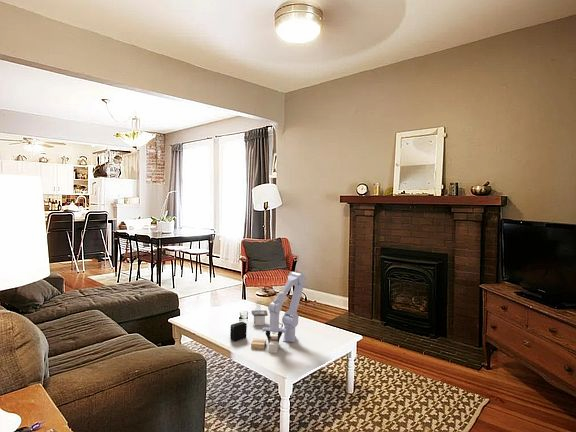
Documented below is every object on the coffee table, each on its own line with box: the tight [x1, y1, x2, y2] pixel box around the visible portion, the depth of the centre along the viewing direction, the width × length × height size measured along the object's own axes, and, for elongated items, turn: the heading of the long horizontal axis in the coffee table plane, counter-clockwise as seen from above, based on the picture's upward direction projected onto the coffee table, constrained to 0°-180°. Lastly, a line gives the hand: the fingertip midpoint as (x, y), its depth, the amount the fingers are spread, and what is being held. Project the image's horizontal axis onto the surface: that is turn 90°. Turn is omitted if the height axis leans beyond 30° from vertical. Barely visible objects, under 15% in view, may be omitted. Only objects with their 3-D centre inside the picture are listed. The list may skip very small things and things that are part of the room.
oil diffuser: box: [251, 301, 269, 326], centre depth 266 cm, size 26×24×17 cm
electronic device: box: [229, 321, 248, 342], centre depth 236 cm, size 4×10×10 cm, turn 135°
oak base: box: [250, 338, 267, 350], centre depth 226 cm, size 8×8×3 cm
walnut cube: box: [268, 335, 278, 344], centre depth 228 cm, size 5×5×5 cm
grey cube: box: [268, 341, 279, 354], centre depth 220 cm, size 5×5×5 cm
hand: (273, 343), depth 228 cm, fingers closed on walnut cube, 5 cm apart
